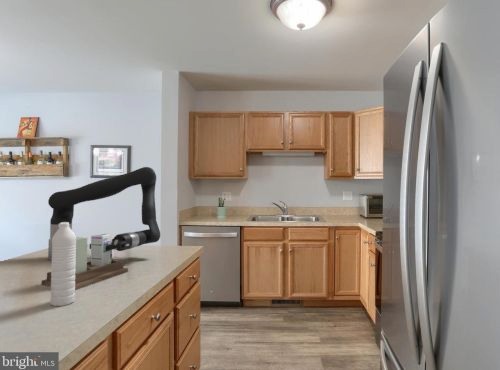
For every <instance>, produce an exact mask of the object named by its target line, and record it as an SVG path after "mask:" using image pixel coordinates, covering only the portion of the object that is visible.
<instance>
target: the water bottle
mask: <svg viewBox="0 0 500 370" xmlns="http://www.w3.org/2000/svg"><path fill="white" fill-rule="evenodd" d="M58 227H60V228H59V229H58V230H57V232H56V233H55V234H54V236H53V238H52V260H51V265H50V266H51V271H50V272H51V286H50V302H49V303H50V305H51V306H53V307H62V306H67V305H71V304H72V303H74V302H75V300H76V293H75V292H76V290H75V272H76V269H75V267H76V261H75V260H76V258H75V257H76V237H77V236H76V234H75V233H74V231H73V229H72V230H71V228H70V227H69V222H61V223H60V224H58Z"/></svg>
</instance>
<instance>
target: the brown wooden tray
mask: <svg viewBox="0 0 500 370" xmlns="http://www.w3.org/2000/svg"><path fill="white" fill-rule="evenodd" d="M128 272H129V268H128V267H124V260H116V259H112V263H111V264H108V265H104V266H94V265H91V260H90V261H87V271H84V272H80V273H77V274H75V291H77V290H79V289H83V288H85V287H86V288H87V287H88V286H91V284H92V285H94V284H97V283H100V282H103V281H105V280H108V279H112V278H114V277H117V276H120V275H122V274H125V273H128ZM40 283H41V285H42V286H46V287H51V271H48V272H46V279H44V280H41V282H40Z"/></svg>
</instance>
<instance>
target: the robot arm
mask: <svg viewBox="0 0 500 370" xmlns="http://www.w3.org/2000/svg"><path fill="white" fill-rule="evenodd" d="M156 174H157V173H156V172H155V170H154V169H153V168H152V167H148V166H143V167H141V168H137V169H135V170H132V171H130V172H127V173H124V174H120V175H119V174H118V175H116V176H111V177H108V178H104V179H99V180H97V181H94V182H91V183H90V182H89V183H87V184H85V185H83V186H80V187H77V188H73V189H68V190H62V191H57V192H53V193H52V194H51V195H50V196H49V198H48V206H49V207H50V208H51V209H53V210H52V215H51V218H50V223H49V224H50V225H49V226H50V227H49V239H48V246H47V247H48V254H47V256H48V257H47V259H48V260H51V261H52V238H53V236H54V234H55V233H56V232H57V230H58V229H59V228H60V227H58V224H60V223H61V222H69V227H70V228H71V230H72V231H73V219H74V211H75V209H74V208H75V205H78V204H81V203H85V202H92V201H98V200H102V199H105V198H110V197H112V196H115V195H117V194H119V193H121V192H123V191H124V190H126V189H128V188H131V187H134V186H139V185H140V187H141V191H142V193H141V195H142V200H141V201H142V202H141V223H142V225H144V226H145V225H146V226H148V227H149V229H143V230H139V231H137V230H136V231H133V232H124V233H118V234H115V236H114V237H113V238H112V244H110V245H106V247H105V250H106V251H109V250H112V251H113V250H114V251H115V250H116V251H118V252H123V251H126V250H130V249H131V250H132V249H133V248H135V247H136V248H137V247H140V246H142V245H147V244H153V243H157V242H159V240H160V239H161V231H160V228H159V225H158V222H157V213H156V212H157V209H156V201H155V200H156V198H155V195H156V193H155V191H156V185H157V184H156V183H157V175H156ZM89 249H90V250H91V243H89Z"/></svg>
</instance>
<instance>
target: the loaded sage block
mask: <svg viewBox="0 0 500 370" xmlns="http://www.w3.org/2000/svg"><path fill="white" fill-rule="evenodd" d="M75 258H76V260H75V261H76V267H75V269H76V272H75V274H77V273H80V272H84V271H87V262H88V237H83V236H76V257H75Z"/></svg>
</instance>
